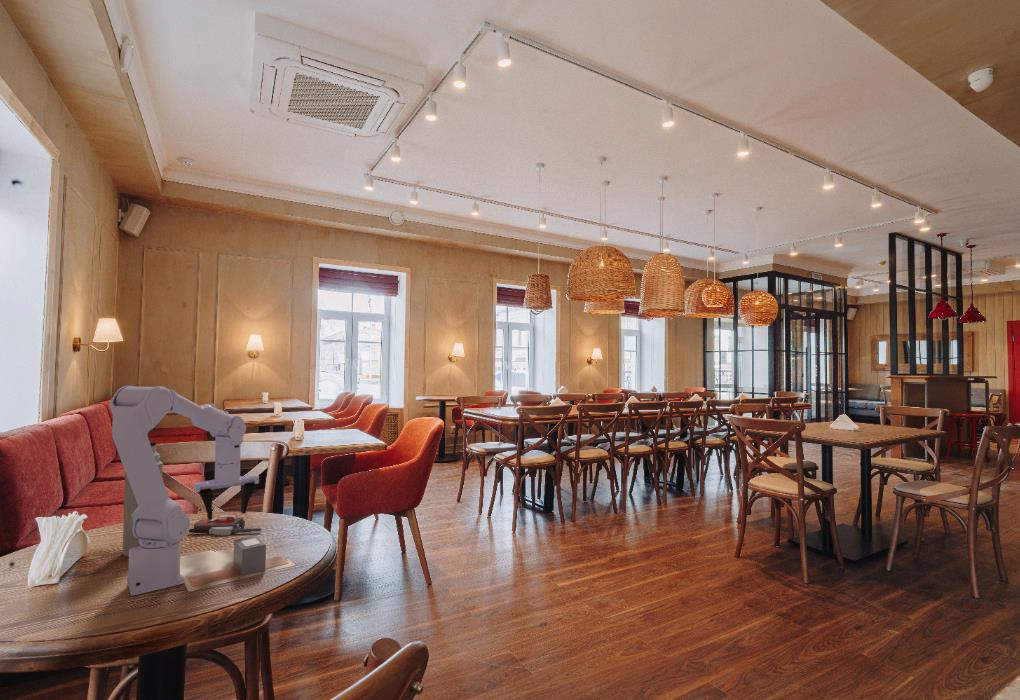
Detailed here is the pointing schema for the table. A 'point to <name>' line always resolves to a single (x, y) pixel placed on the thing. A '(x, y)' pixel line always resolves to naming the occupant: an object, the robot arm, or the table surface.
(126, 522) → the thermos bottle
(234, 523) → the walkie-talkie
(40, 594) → the table surface
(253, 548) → the block
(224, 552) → the subfloor panel
